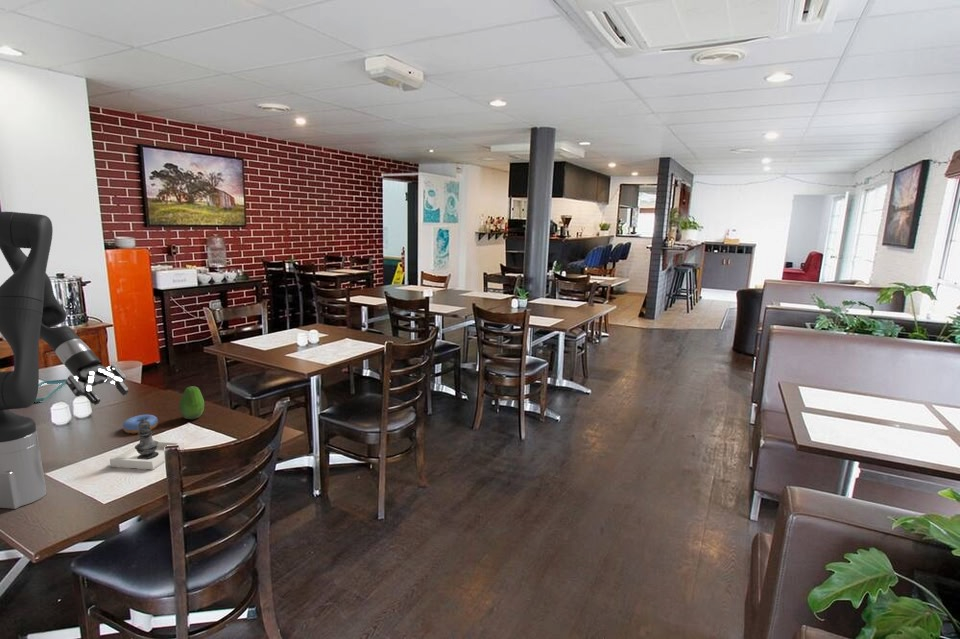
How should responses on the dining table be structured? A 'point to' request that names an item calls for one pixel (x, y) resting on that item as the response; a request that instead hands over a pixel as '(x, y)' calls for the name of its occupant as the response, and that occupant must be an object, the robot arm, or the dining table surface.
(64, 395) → the dining table surface
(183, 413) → the avocado
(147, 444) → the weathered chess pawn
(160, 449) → the ceramic dish
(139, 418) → the doughnut
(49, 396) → the shallow long dish
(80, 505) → the dining table surface
